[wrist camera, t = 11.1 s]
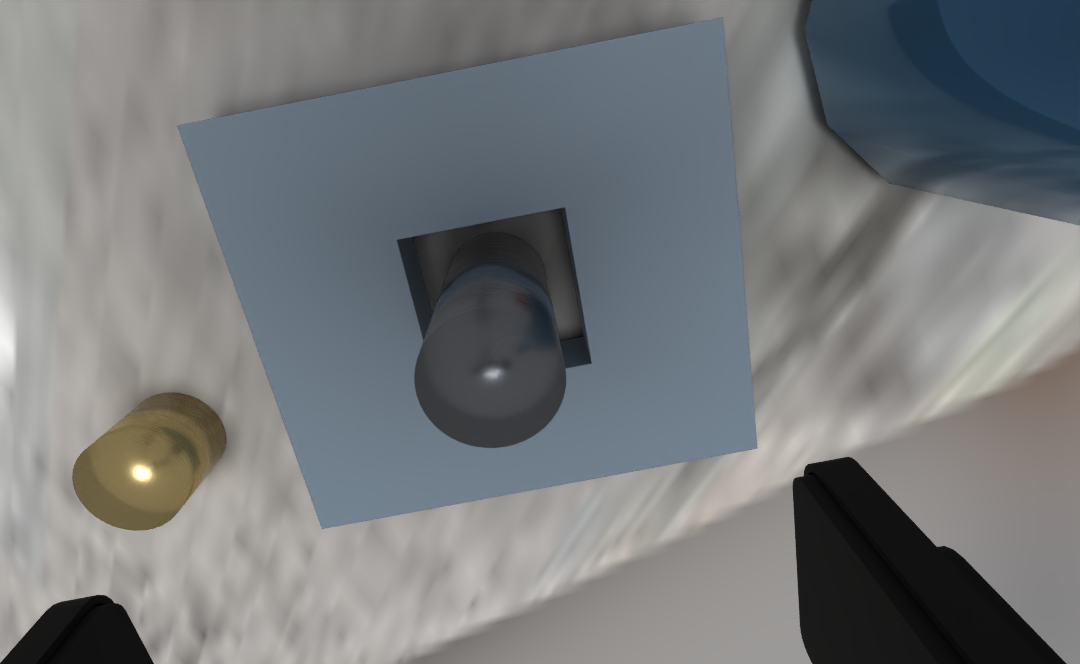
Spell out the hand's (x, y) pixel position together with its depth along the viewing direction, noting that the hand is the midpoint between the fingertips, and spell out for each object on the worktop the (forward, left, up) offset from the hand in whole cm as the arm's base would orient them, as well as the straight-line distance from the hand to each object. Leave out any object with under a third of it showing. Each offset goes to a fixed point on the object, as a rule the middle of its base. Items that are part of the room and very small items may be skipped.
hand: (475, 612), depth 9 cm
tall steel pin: (0, 0, -19) cm, 19 cm away
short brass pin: (+4, -15, -19) cm, 24 cm away
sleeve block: (0, 0, -19) cm, 19 cm away
